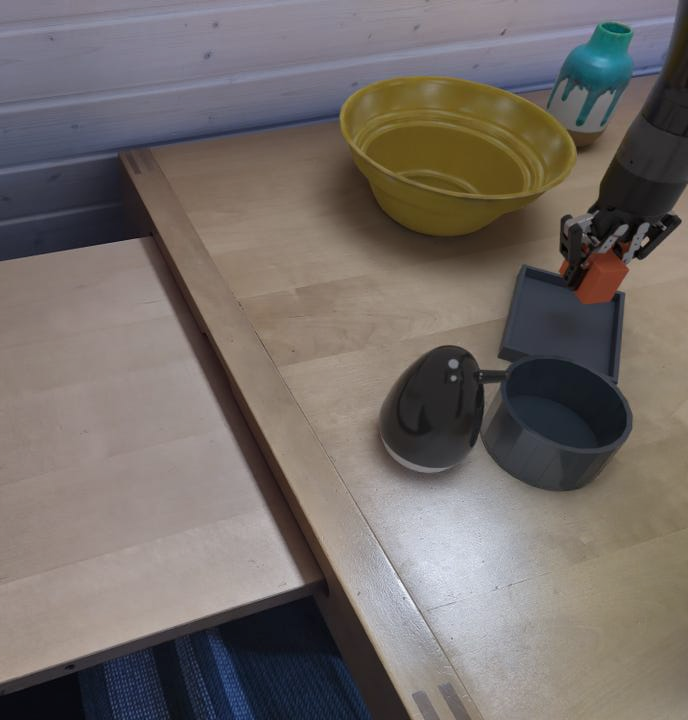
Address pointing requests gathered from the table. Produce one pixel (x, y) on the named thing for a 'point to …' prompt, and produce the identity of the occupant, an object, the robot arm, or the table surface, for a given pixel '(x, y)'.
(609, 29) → the vase
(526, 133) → the planter bowl
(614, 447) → the crock
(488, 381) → the pump dispenser
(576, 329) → the tray
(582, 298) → the sponge
